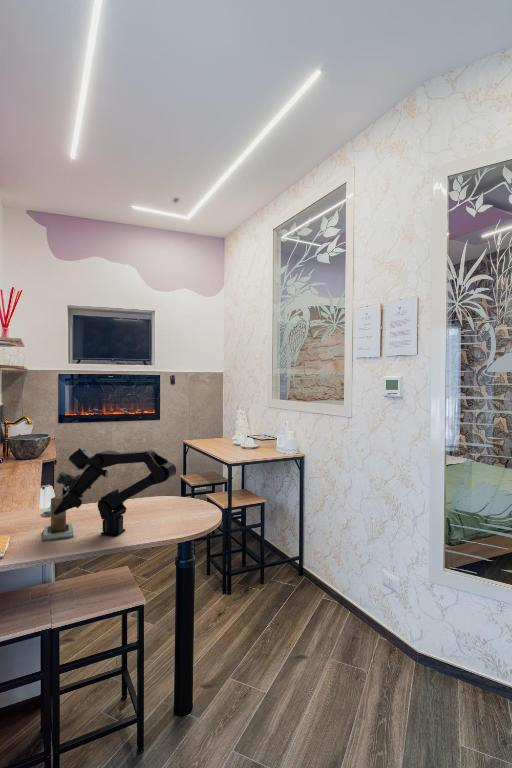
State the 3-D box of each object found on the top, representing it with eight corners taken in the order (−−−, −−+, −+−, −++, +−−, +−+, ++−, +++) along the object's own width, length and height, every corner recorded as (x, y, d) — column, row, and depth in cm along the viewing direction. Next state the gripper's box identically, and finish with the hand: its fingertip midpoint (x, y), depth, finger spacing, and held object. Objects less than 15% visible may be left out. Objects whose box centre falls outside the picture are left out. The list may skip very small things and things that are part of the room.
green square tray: (72, 527, 162) (72, 522, 162) (73, 537, 153) (73, 531, 153) (42, 531, 158) (43, 526, 158) (42, 541, 149) (42, 535, 149)
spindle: (68, 529, 158) (69, 496, 157) (59, 534, 153) (60, 500, 152) (56, 527, 159) (57, 495, 158) (47, 532, 154) (47, 499, 153)
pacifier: (39, 517, 173) (55, 516, 174) (38, 502, 173) (54, 501, 174) (43, 511, 180) (59, 510, 181) (43, 497, 180) (58, 496, 181)
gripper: (70, 459, 165) (37, 490, 161) (72, 470, 148) (35, 505, 144) (91, 478, 169) (60, 509, 164) (95, 490, 152) (61, 525, 147)
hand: (54, 511), depth 155 cm, fingers open, 5 cm apart
